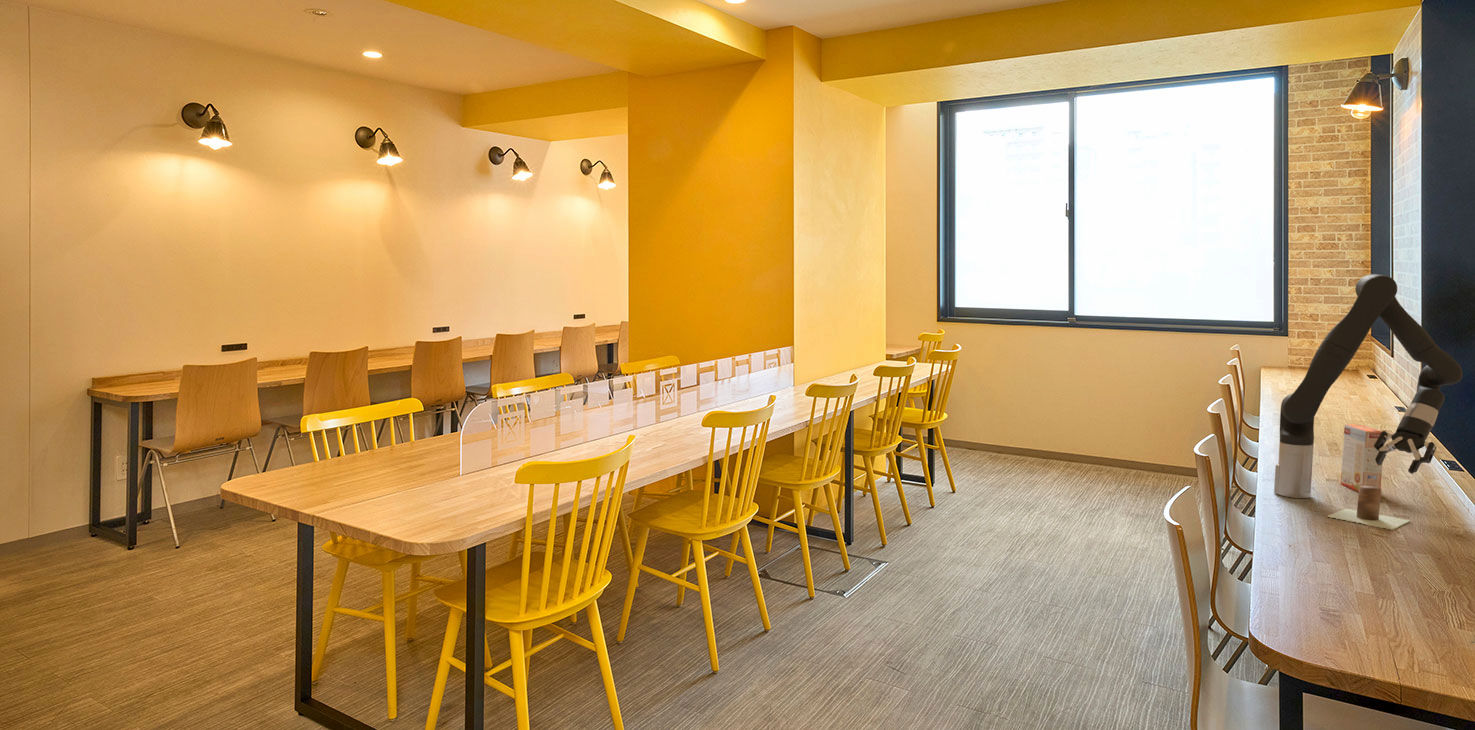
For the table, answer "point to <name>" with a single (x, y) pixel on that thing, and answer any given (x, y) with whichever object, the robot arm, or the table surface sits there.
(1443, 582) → the table surface
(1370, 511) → the walnut cylinder
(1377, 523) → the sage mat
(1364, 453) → the cracker box
